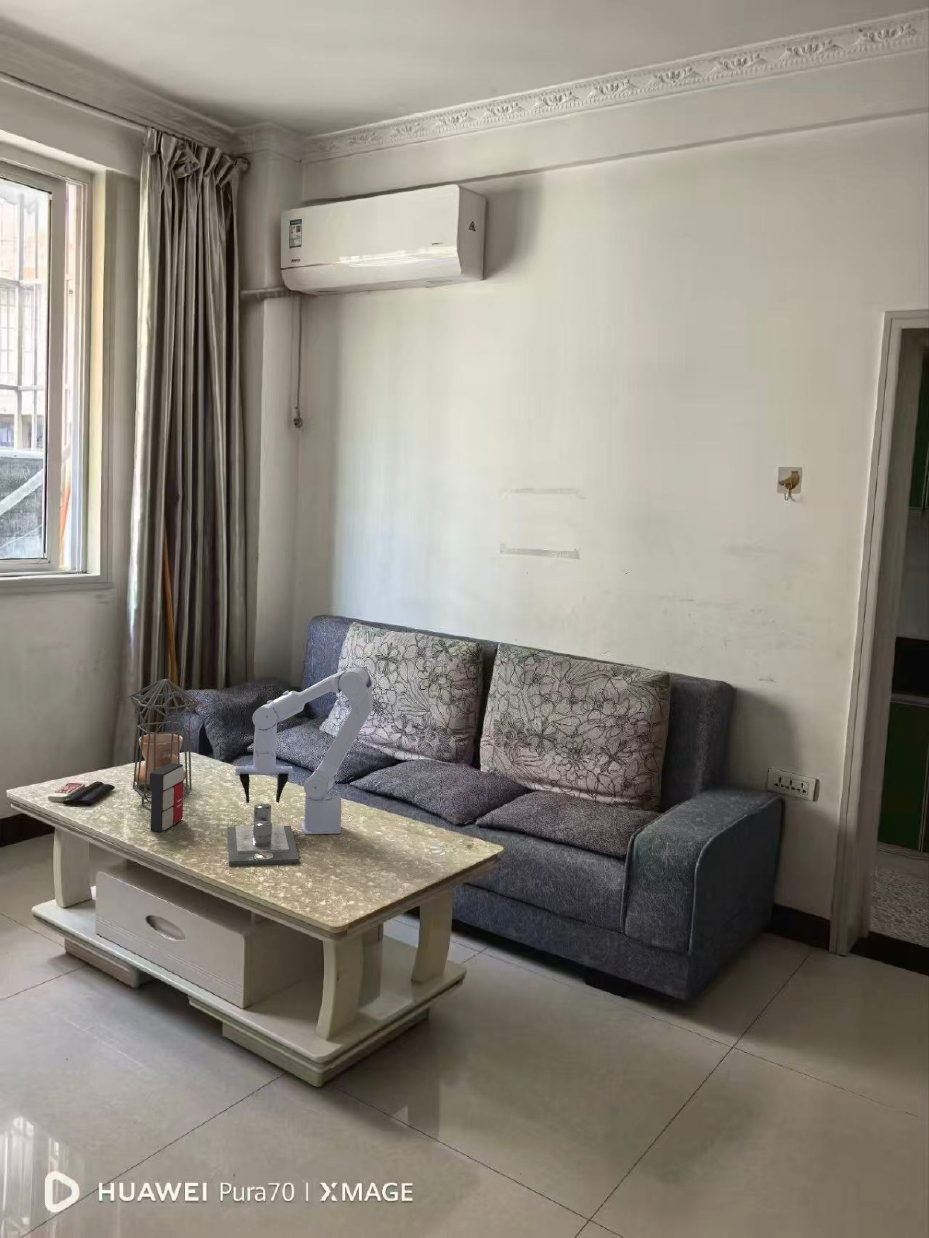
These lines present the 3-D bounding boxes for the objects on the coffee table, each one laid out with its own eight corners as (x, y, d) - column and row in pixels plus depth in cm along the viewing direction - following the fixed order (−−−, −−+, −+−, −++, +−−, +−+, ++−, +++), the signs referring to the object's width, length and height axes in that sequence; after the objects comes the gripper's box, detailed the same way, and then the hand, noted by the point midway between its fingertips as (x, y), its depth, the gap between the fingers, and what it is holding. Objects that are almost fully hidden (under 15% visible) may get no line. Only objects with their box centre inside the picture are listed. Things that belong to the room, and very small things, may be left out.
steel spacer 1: (270, 821, 263) (270, 803, 262) (271, 827, 259) (271, 808, 258) (253, 822, 262) (253, 803, 261) (253, 827, 258) (254, 808, 257)
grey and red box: (163, 833, 249) (165, 774, 248) (147, 830, 250) (149, 772, 248) (184, 820, 260) (186, 764, 258) (169, 818, 261) (170, 762, 259)
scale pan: (283, 827, 256) (283, 824, 256) (288, 851, 238) (288, 849, 238) (235, 828, 253) (235, 825, 252) (237, 853, 235) (237, 850, 235)
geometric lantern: (178, 794, 281) (181, 672, 277) (200, 810, 269) (204, 682, 265) (122, 802, 271) (125, 675, 267) (142, 818, 259) (146, 686, 255)
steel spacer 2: (266, 839, 244) (267, 819, 243) (274, 845, 240) (275, 825, 240) (249, 842, 241) (250, 822, 241) (257, 847, 238) (258, 827, 237)
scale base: (290, 830, 257) (290, 824, 257) (298, 863, 234) (299, 857, 234) (227, 831, 253) (227, 825, 253) (229, 866, 230) (229, 859, 230)
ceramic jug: (124, 781, 290) (125, 733, 289) (172, 775, 299) (173, 729, 298) (147, 798, 276) (149, 748, 275) (197, 791, 286) (198, 742, 284)
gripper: (291, 747, 264) (289, 796, 265) (235, 746, 260) (233, 797, 262) (294, 753, 257) (291, 804, 258) (236, 753, 253) (234, 805, 255)
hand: (262, 801), depth 260 cm, fingers open, 7 cm apart
